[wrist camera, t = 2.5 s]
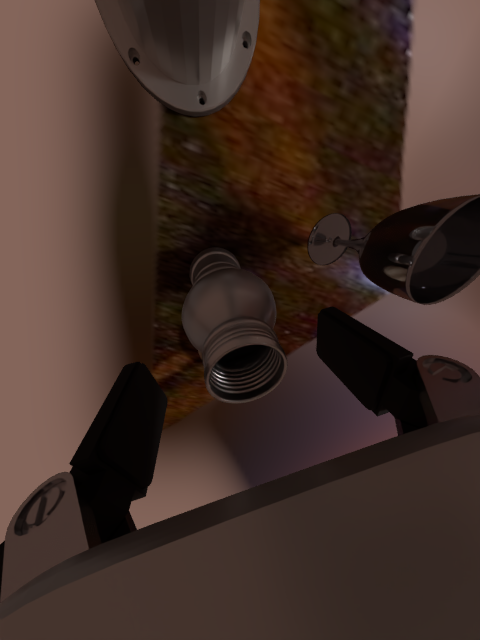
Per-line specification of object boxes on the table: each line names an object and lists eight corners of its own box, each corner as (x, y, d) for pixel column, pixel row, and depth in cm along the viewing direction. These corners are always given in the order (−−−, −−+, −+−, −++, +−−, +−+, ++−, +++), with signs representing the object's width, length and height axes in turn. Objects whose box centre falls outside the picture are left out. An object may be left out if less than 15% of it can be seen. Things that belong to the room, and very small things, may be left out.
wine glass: (343, 195, 23) (523, 159, 10) (360, 243, 27) (505, 260, 14) (296, 238, 24) (401, 252, 12) (318, 277, 28) (415, 321, 16)
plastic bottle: (180, 269, 23) (125, 390, 6) (215, 233, 22) (267, 263, 5) (213, 300, 26) (236, 436, 9) (246, 270, 25) (340, 365, 8)
